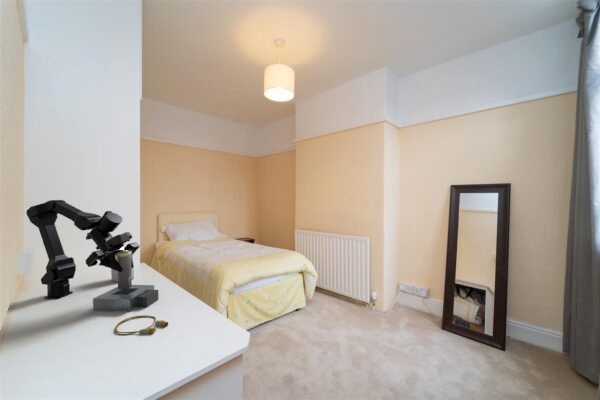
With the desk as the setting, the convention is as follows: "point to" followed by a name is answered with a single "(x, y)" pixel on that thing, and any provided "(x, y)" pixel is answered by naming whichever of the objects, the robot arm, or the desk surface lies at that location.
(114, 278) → the skincare box
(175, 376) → the desk surface
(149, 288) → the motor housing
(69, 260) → the robot arm
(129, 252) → the plug
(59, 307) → the desk surface
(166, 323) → the extension cord
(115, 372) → the desk surface
